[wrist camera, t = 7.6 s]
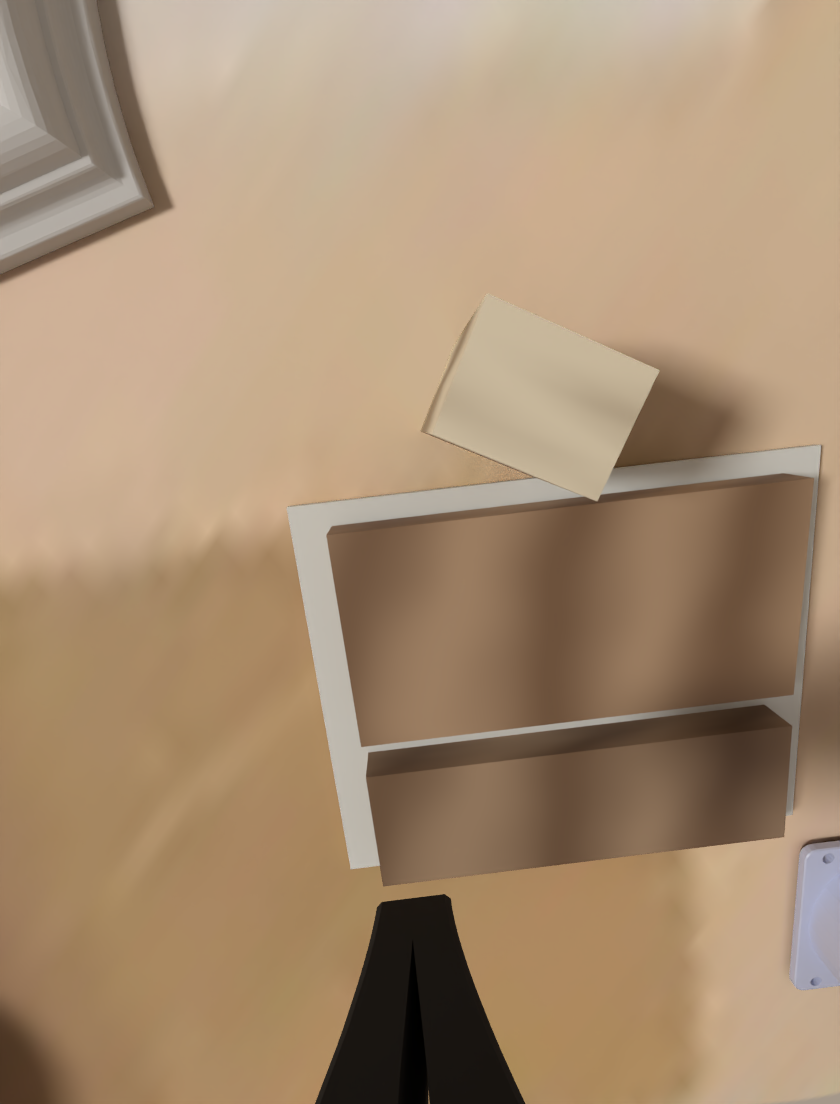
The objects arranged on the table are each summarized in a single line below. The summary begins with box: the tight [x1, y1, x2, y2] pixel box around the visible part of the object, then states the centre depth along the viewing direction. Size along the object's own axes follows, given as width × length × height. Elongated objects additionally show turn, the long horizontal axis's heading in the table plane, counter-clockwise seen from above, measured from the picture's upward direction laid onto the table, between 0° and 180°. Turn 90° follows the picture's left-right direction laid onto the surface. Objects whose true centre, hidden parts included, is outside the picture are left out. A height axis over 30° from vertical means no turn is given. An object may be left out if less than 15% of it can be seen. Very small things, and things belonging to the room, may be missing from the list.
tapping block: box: [421, 293, 660, 501], centre depth 14 cm, size 7×4×3 cm
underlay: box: [287, 445, 821, 869], centre depth 20 cm, size 19×16×1 cm
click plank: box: [326, 473, 814, 747], centre depth 18 cm, size 16×8×1 cm, turn 96°
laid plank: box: [366, 705, 792, 886], centre depth 20 cm, size 16×5×2 cm, turn 96°
